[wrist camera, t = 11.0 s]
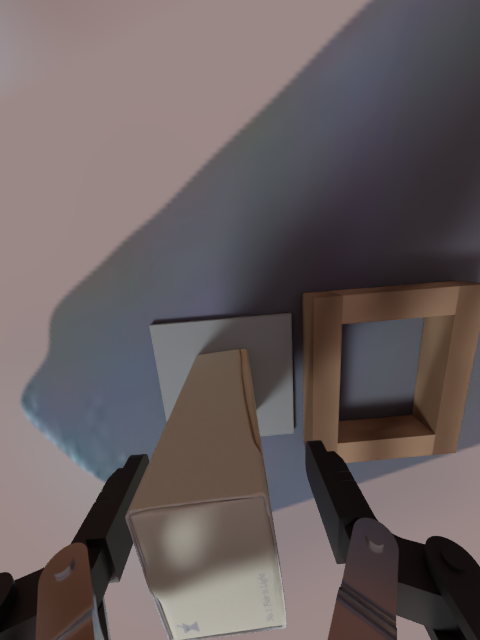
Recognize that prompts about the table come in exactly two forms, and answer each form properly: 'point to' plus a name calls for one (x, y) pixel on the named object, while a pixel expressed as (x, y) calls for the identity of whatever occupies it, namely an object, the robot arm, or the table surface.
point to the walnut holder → (432, 375)
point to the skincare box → (210, 510)
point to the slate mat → (231, 334)
